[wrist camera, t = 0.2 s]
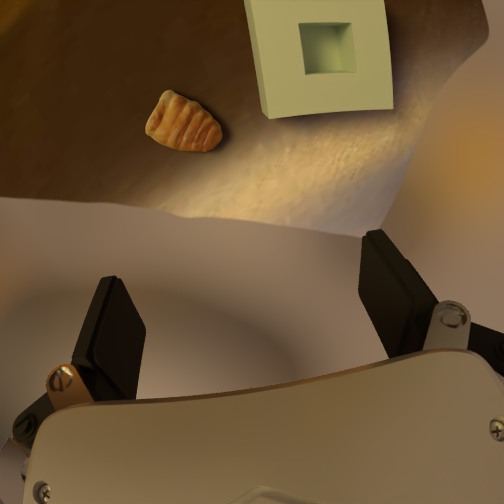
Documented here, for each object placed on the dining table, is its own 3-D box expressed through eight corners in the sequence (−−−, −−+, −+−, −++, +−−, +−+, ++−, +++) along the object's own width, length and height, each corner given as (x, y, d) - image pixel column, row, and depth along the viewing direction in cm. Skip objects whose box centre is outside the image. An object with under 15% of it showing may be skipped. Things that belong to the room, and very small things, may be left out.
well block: (243, -1, 28) (248, -11, 23) (360, -3, 28) (382, -10, 23) (261, 110, 37) (269, 119, 32) (371, 101, 37) (393, 109, 32)
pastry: (232, 117, 37) (233, 122, 34) (207, 161, 40) (206, 171, 37) (165, 86, 34) (159, 88, 31) (143, 132, 37) (136, 140, 34)
